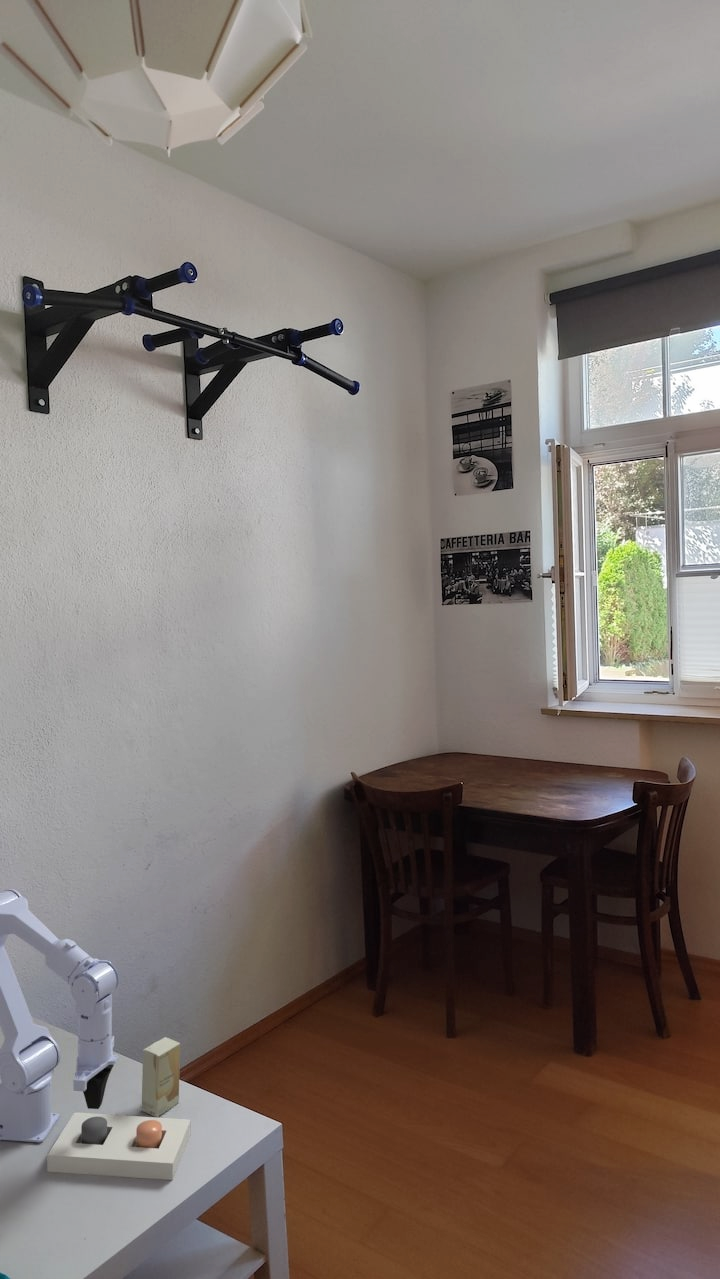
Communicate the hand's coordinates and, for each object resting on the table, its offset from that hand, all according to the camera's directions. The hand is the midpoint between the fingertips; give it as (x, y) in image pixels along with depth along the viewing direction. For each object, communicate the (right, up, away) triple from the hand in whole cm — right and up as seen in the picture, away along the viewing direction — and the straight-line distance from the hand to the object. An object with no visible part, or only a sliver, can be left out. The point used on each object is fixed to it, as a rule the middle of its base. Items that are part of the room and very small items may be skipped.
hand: (94, 1106), depth 153 cm
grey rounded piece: (0, -6, 0) cm, 6 cm away
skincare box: (+9, -8, +14) cm, 18 cm away
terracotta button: (+10, -7, 0) cm, 12 cm away
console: (+5, -8, 0) cm, 10 cm away
